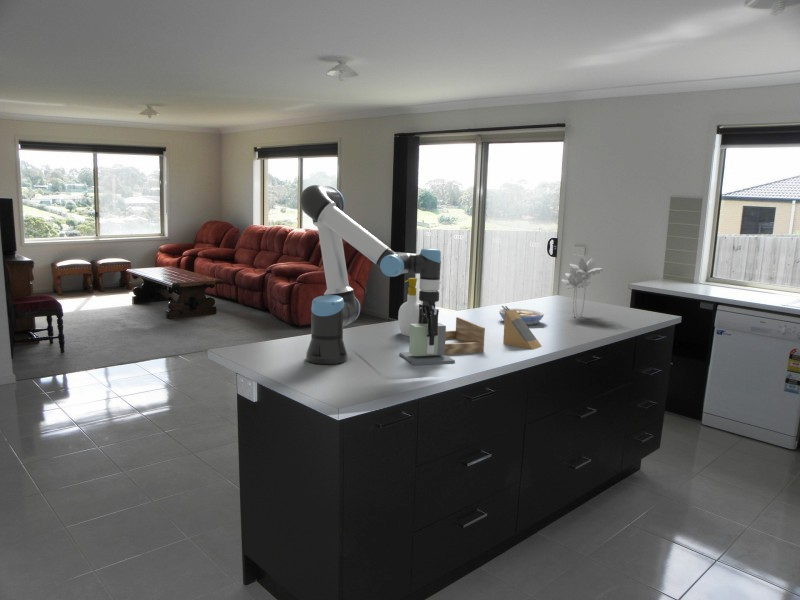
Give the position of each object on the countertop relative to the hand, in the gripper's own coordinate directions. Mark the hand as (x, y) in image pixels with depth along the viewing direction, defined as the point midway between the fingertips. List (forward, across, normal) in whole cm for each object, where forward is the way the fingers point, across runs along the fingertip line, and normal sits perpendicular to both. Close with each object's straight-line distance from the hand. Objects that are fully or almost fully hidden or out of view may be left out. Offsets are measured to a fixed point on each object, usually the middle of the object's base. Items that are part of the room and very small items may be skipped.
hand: (426, 351), depth 224 cm
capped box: (+1, 0, 0) cm, 1 cm away
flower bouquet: (+3, +60, -112) cm, 127 cm away
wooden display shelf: (+3, +18, -18) cm, 26 cm away
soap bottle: (+3, +41, -9) cm, 42 cm away
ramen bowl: (+3, +55, -74) cm, 92 cm away
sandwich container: (+3, +11, -49) cm, 50 cm away
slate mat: (+3, 0, 0) cm, 3 cm away
